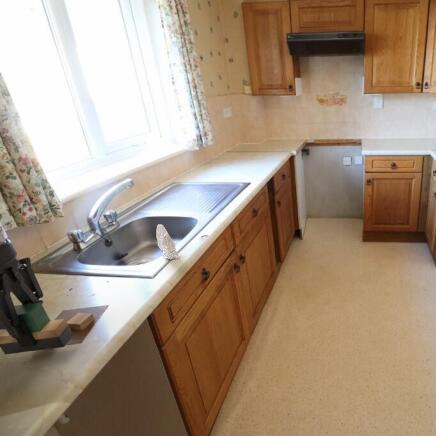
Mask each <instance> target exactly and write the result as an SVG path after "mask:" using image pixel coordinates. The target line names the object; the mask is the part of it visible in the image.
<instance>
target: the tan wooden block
mask: <svg viewBox="0 0 436 436" xmlns="http://www.w3.org/2000/svg"><path fill="white" fill-rule="evenodd" d="M93 320H94V317H93V314H92V313H77V314H76V315H75V316H74V317H73V318H71V319H70V320H69V321H68V322H67V324H68V326H69V328H70V330H83V329H85V328H86V327H87V326H88V325H89V324H90V323H91V322H92V321H93Z"/></svg>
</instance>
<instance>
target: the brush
mask: <svg viewBox="0 0 436 436" xmlns="http://www.w3.org/2000/svg"><path fill="white" fill-rule="evenodd" d="M14 307H15V309H16V312H17V315H18V318H19V320H24V321H25V323H26V325H27V326H28V328H29V330H30V332H31V333H32V335H33V337H34V339H35V340H36V342H37V344H36V345H35V346H29V347H21V346H20V345H19V343H18V342H17V340H16V338H15V339H14V338H12V336H11V335H10V333H9V332H8V330H7V329H3V330H0V349H1V351H2V352H3V353H4V355H12V354H21V353H27V352H37V351H43V350H51V349H57V348H58V349H59V348H65V347H66V346H67V345H66V344H67V343H68V341H69V340H70V339H71V337H72V336H73V334H72V332H71V330H70V328H69V326H68V324H67V322H66V320H65V319H58V320H55V319H52V320H51V318H50V317H49V315H48V313H47V311H46V309H45V307H44V306H43V304H41V303H33V304H25V305H22V304H18V305H17V304H16V305H14Z"/></svg>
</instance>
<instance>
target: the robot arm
mask: <svg viewBox="0 0 436 436" xmlns="http://www.w3.org/2000/svg"><path fill="white" fill-rule="evenodd" d="M15 248H16V247H14V244H13V243H12V240H10V239H9V238H8V234H7V232H6V230H5V229H4V226H3V225H2V222H0V331H2V330H3V329H7V330H8V332H9V333H10V335H11V336H12V338H14V339H15V338H16V340H17V342H18V343H19V345H20V346H21V347H29V346H35V345H36V344H37V342H36V340H35V339H34V337H33V335H32V333H31V332H30V330H29V328H28V326H27V325H26V323H25V321H24V320H19V318H18V315H17V312H16V309H15V307H14V306H15V304H14V301H13V298H12V295H11V293H12V294H13V296H15V298H16V299H17V300H18V301H19V303H20V304H21V305H25V304H33V303H41V304H42V305H43V304H44V300H43V299H42V298H44V292H43V289H42V287H41V286H40V283H39V281H38V279H37V276H36V275H35V274H36V273H35V272H34V270H33V268H32V262H31V257H27V256H26V257H18V252H17V250H16V249H15ZM17 257H18V258H17ZM40 299H41V300H40Z"/></svg>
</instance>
